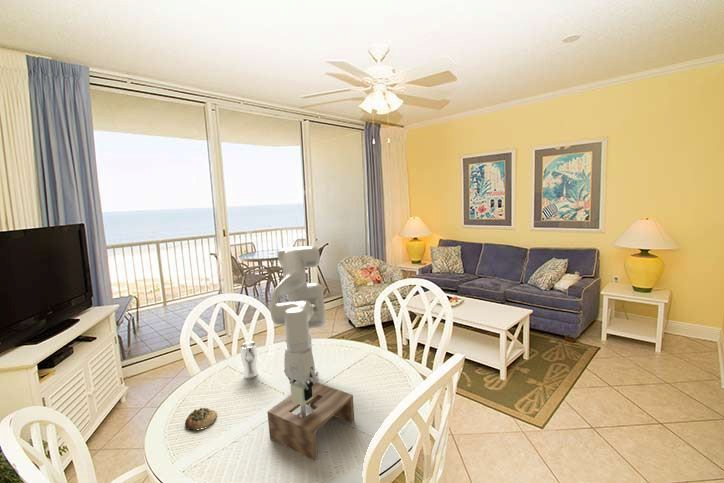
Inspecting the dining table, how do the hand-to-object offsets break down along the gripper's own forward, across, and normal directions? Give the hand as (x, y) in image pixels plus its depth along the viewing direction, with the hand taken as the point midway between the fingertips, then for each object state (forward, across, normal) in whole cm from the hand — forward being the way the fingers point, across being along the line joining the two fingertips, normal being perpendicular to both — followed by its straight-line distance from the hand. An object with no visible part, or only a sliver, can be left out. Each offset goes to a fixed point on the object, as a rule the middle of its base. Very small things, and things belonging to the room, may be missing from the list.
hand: (302, 395), depth 115 cm
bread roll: (+15, -40, -13) cm, 45 cm away
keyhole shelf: (+15, 0, +4) cm, 16 cm away
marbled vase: (+15, -51, +18) cm, 56 cm away
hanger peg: (+8, 0, 0) cm, 8 cm away
